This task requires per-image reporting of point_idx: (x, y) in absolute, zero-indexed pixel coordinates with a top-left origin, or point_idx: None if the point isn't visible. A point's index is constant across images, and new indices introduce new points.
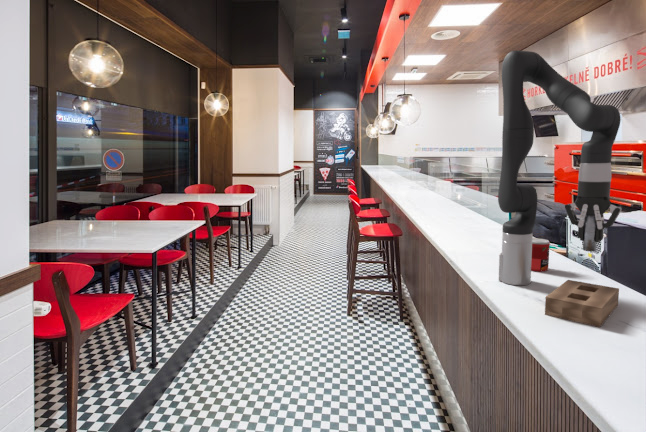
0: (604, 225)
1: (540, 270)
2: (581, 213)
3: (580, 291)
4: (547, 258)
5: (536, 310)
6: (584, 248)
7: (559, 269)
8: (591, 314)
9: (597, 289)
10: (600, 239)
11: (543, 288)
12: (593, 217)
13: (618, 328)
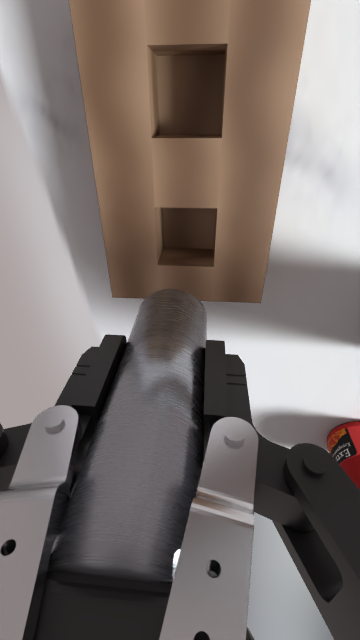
0: (17, 448)
1: (345, 426)
2: (238, 612)
3: (197, 184)
4: (340, 465)
5: (332, 22)
6: (192, 300)
7: None
8: None
9: (162, 263)
10: (92, 352)
11: (325, 301)
12: (79, 535)
13: (51, 40)
